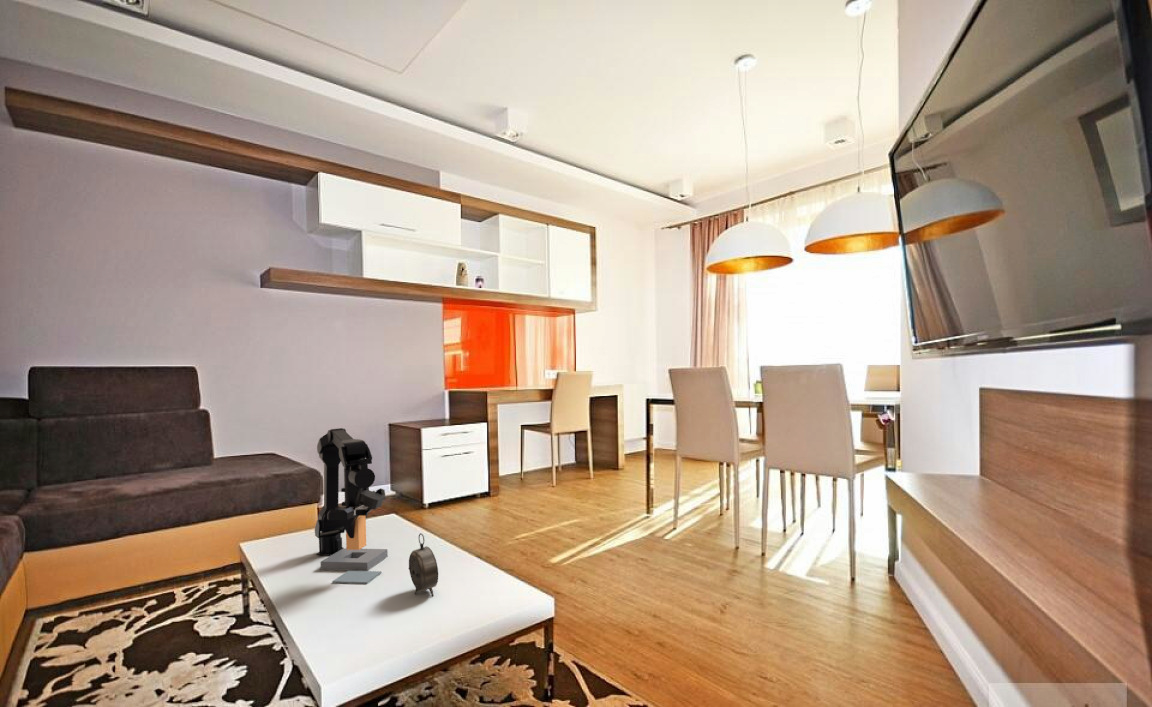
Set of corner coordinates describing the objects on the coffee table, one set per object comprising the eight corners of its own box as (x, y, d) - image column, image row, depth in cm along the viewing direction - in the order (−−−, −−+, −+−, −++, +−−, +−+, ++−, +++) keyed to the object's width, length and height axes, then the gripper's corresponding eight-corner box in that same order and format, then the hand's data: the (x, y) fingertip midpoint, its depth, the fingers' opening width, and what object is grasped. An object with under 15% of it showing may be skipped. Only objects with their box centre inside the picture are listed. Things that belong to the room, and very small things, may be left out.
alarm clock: (440, 596, 141) (438, 535, 142) (420, 602, 138) (418, 540, 138) (424, 583, 150) (423, 526, 150) (406, 589, 146) (404, 531, 147)
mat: (332, 583, 153) (332, 581, 153) (348, 572, 161) (348, 570, 161) (366, 583, 151) (366, 582, 151) (381, 573, 159) (381, 571, 159)
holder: (320, 569, 164) (320, 561, 164) (343, 555, 176) (343, 548, 176) (367, 570, 162) (367, 562, 162) (387, 556, 173) (387, 549, 174)
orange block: (346, 549, 155) (345, 519, 155) (354, 545, 159) (353, 515, 159) (358, 549, 154) (358, 519, 154) (366, 545, 158) (365, 515, 158)
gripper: (361, 490, 146) (363, 546, 146) (395, 476, 165) (396, 526, 164) (325, 490, 148) (327, 546, 148) (362, 476, 167) (364, 525, 166)
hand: (356, 535), depth 157 cm, fingers closed on orange block, 4 cm apart
